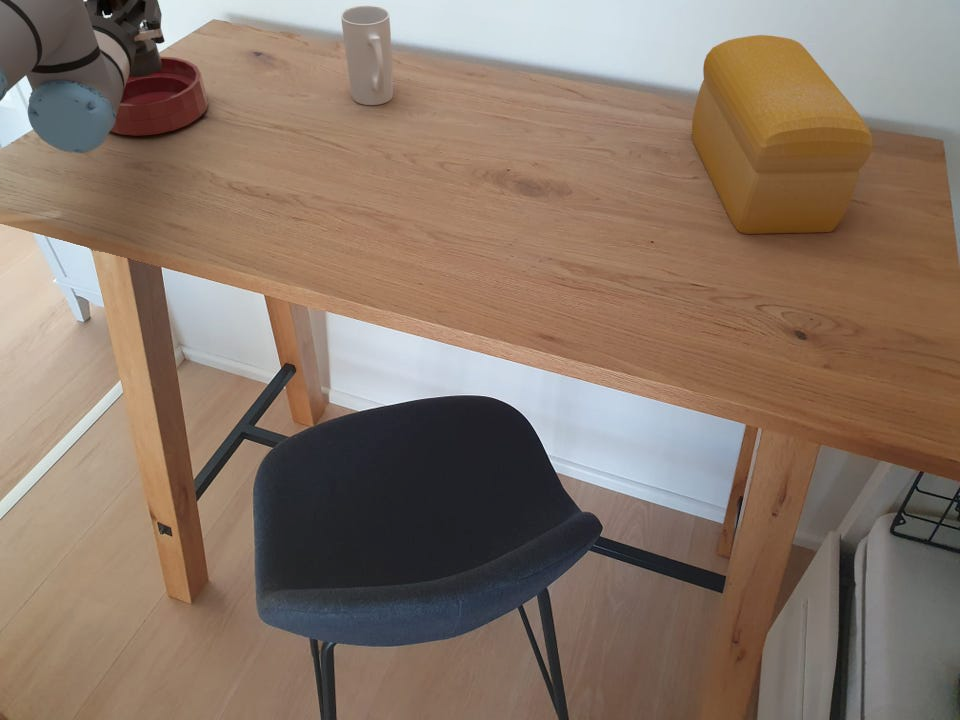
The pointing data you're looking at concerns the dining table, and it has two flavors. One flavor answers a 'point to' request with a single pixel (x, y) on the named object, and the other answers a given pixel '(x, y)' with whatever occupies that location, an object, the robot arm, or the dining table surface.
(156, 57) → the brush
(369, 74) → the mug
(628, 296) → the dining table surface
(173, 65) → the bowl
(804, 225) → the bread
